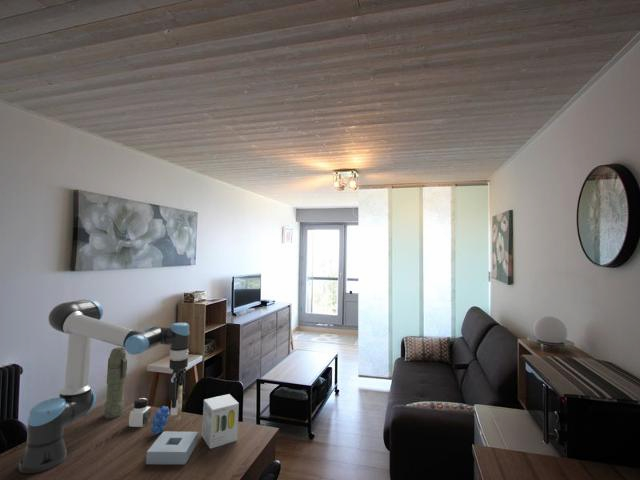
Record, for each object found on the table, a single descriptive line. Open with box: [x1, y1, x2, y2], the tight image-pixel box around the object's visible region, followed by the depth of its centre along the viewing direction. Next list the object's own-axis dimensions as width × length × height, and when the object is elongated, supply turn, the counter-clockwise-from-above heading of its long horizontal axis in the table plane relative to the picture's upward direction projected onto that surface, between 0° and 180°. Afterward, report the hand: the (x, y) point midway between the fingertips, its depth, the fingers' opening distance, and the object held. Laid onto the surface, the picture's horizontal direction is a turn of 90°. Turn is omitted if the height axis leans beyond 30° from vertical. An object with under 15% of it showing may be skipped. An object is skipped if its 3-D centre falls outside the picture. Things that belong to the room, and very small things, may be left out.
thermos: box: [103, 347, 128, 420], centre depth 176 cm, size 9×12×35 cm
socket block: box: [145, 430, 199, 465], centre depth 144 cm, size 16×16×5 cm
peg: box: [170, 385, 183, 422], centre depth 145 cm, size 4×4×14 cm
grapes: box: [150, 405, 171, 436], centre depth 160 cm, size 12×7×12 cm, turn 169°
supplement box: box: [201, 393, 240, 450], centre depth 157 cm, size 13×13×18 cm
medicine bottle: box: [128, 397, 152, 428], centre depth 168 cm, size 7×7×12 cm
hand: (176, 411), depth 144 cm, fingers closed on peg, 4 cm apart
